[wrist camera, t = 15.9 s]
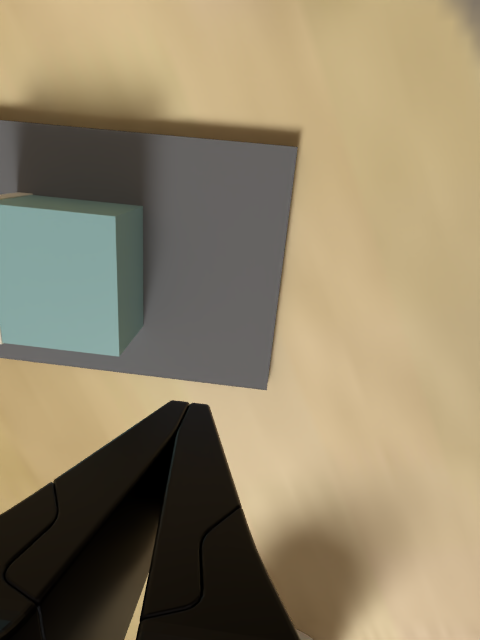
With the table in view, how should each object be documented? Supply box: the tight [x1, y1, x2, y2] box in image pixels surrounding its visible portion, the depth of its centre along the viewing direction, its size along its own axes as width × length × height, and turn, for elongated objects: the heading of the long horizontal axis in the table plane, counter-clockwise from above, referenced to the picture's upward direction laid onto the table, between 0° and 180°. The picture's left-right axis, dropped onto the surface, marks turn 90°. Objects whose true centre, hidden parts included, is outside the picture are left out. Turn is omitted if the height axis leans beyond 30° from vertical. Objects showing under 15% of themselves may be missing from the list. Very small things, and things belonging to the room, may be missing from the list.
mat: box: [0, 120, 298, 390], centre depth 20 cm, size 16×12×1 cm
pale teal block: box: [0, 192, 143, 357], centre depth 18 cm, size 4×6×6 cm
